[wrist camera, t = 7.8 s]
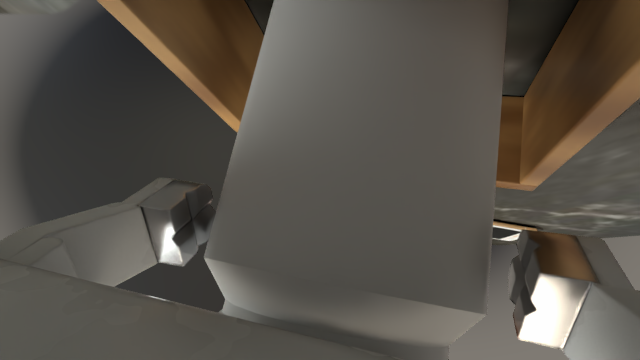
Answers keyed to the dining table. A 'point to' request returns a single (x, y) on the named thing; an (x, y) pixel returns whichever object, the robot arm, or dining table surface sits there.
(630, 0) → the crate
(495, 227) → the cell phone
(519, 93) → the dining table surface
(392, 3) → the can
